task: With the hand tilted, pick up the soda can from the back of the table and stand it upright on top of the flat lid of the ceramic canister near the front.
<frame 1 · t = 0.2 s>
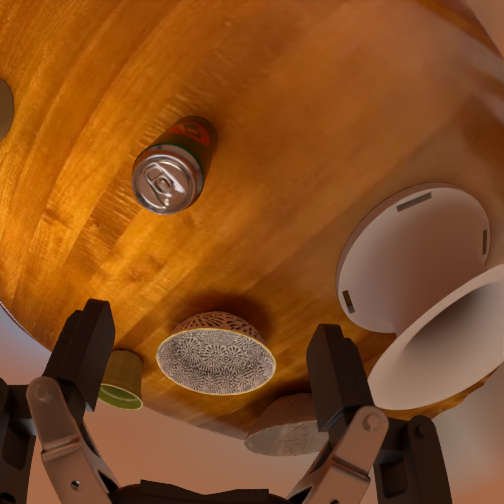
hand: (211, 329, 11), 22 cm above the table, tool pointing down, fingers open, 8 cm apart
bowl: (218, 325, 44), on the table
vase: (418, 264, 38), on the table
soda can: (193, 139, 28), on the table
plant pot: (127, 357, 49), on the table
ceramic bowl: (296, 400, 59), on the table
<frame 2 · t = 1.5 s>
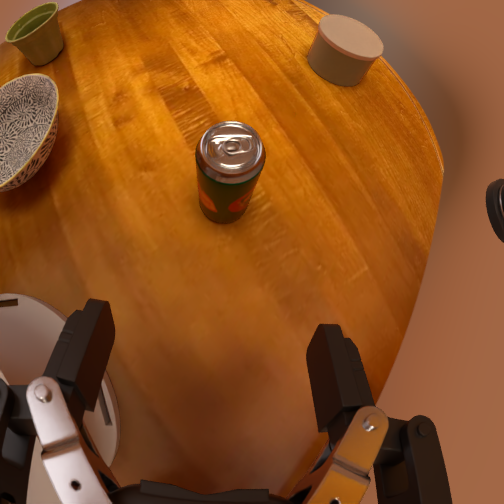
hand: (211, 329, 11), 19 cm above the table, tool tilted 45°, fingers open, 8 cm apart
bowl: (29, 155, 29), on the table
vase: (28, 397, 25), on the table
soda can: (223, 202, 32), on the table
plant pot: (48, 54, 32), on the table
canister: (335, 64, 37), on the table
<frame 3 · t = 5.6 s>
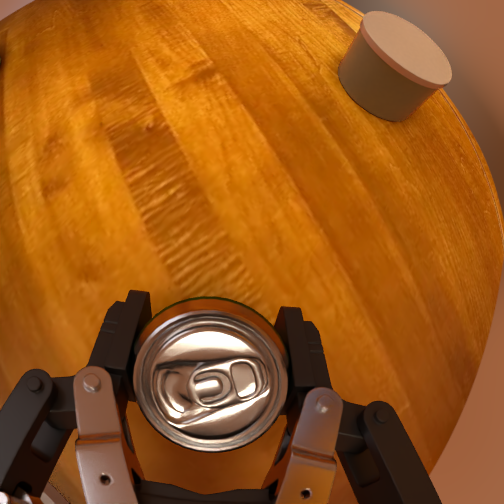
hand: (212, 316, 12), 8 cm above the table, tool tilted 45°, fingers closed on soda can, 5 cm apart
soda can: (209, 337, 19), on the table, touching gripper
canister: (377, 85, 25), on the table
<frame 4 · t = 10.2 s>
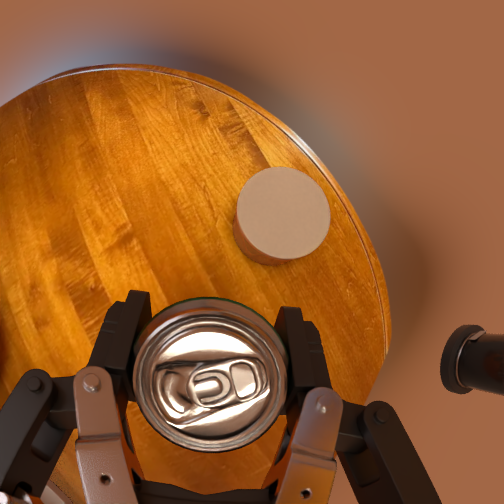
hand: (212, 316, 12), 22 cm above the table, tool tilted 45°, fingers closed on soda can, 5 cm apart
soda can: (209, 337, 19), point 14 cm above the table, touching gripper
canister: (270, 227, 36), on the table
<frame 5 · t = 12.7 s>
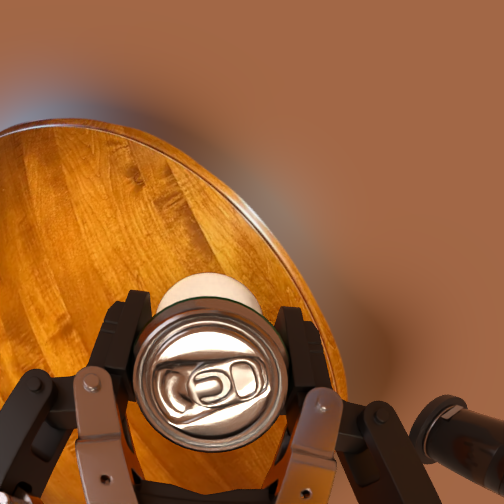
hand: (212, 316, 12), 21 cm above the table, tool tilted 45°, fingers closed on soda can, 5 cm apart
soda can: (209, 337, 19), point 12 cm above the table, touching gripper
canister: (209, 322, 32), on the table
when the fingers open (15 cm above the table, at t = 14.8 s): soda can stays where it is, resting on canister.
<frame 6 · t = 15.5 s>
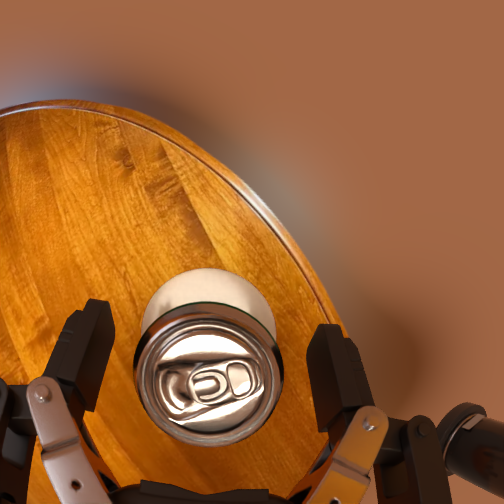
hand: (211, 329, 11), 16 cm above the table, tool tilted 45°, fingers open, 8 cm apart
soda can: (208, 338, 20), point 7 cm above the table, touching canister
canister: (208, 327, 27), on the table
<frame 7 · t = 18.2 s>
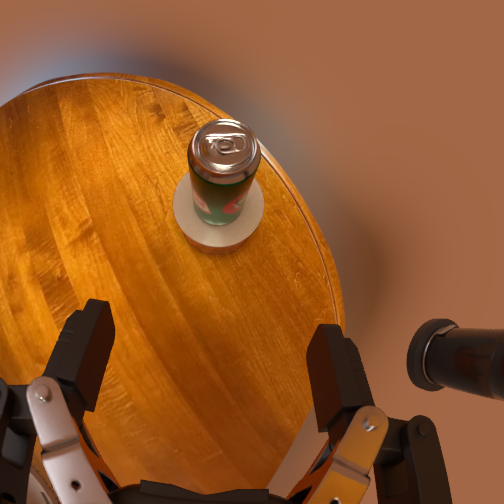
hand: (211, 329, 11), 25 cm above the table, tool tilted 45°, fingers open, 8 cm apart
vase: (5, 485, 24), on the table
soda can: (218, 203, 31), point 7 cm above the table, touching canister
canister: (216, 219, 37), on the table
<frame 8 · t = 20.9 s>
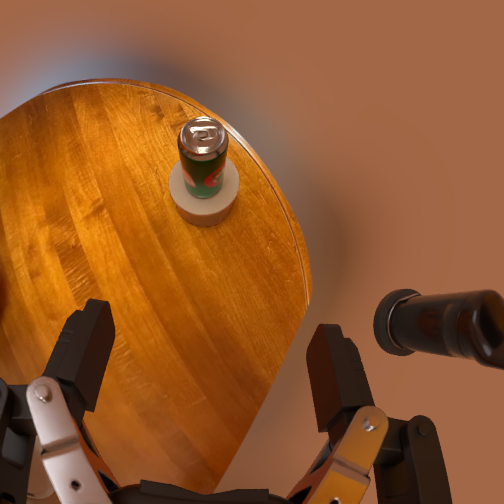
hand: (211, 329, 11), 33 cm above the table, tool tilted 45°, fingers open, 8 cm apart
vase: (9, 443, 33), on the table
soda can: (203, 182, 39), point 7 cm above the table, touching canister
canister: (204, 198, 45), on the table
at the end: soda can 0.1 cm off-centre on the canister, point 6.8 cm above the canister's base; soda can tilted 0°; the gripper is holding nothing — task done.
